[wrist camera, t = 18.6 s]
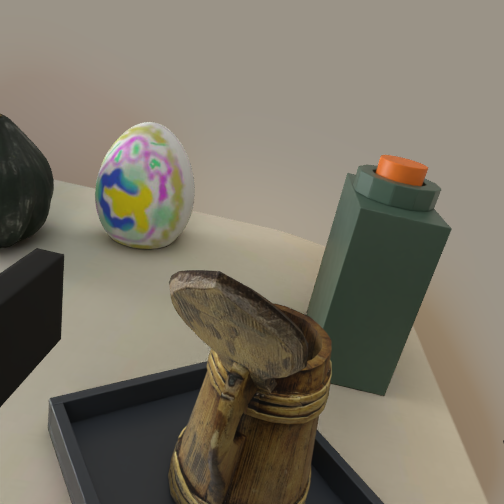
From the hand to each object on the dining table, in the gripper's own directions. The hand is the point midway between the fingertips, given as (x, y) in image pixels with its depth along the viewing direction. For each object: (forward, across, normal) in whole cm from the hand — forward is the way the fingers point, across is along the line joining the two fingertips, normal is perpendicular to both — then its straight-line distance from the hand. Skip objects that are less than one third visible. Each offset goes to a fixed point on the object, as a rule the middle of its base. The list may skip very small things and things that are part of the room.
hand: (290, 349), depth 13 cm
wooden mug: (+9, 0, -18) cm, 20 cm away
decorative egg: (+45, -18, -18) cm, 52 cm away
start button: (+29, +9, -1) cm, 31 cm away
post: (+29, +8, -18) cm, 36 cm away
